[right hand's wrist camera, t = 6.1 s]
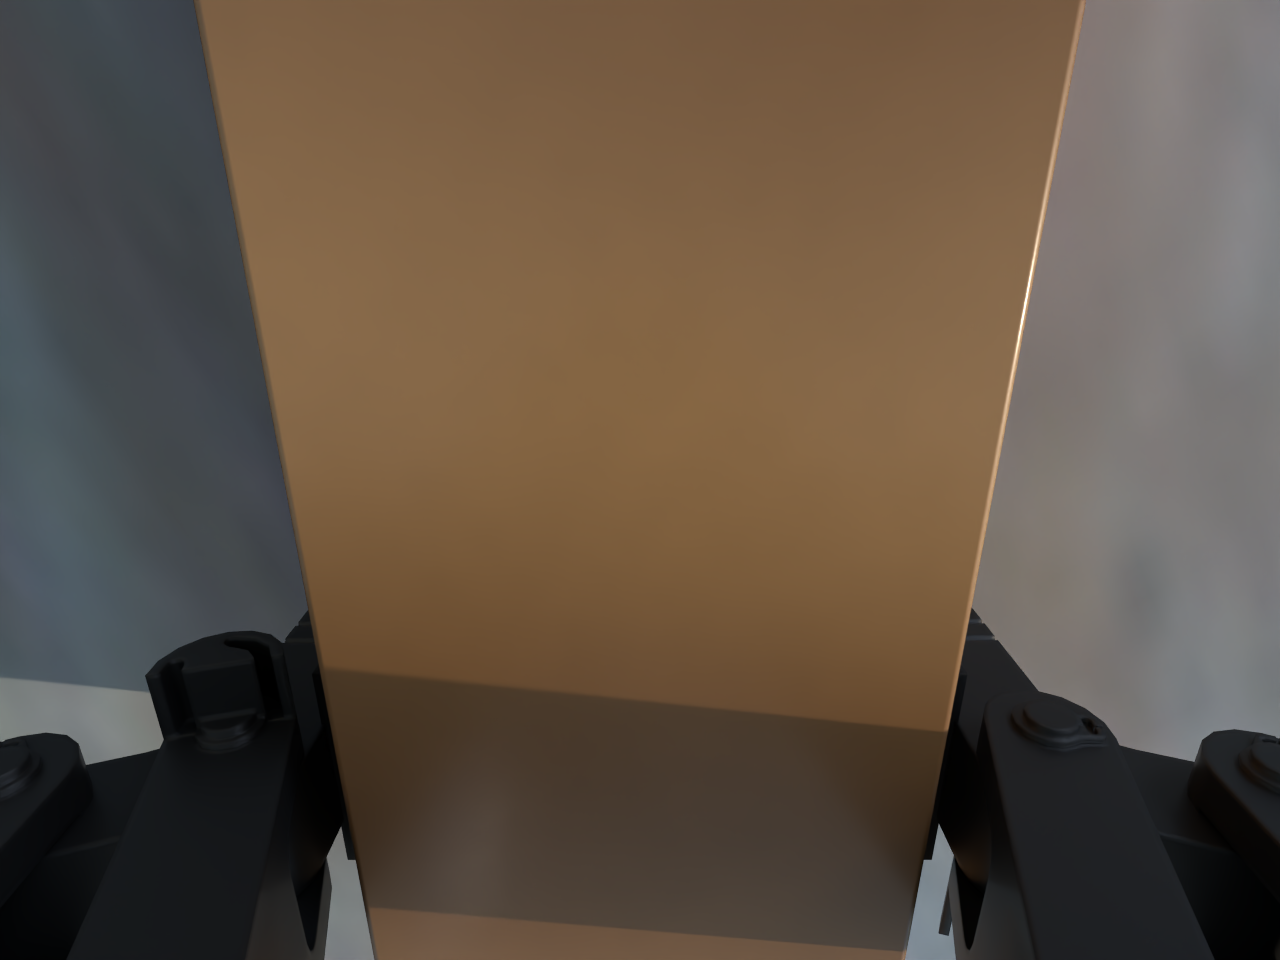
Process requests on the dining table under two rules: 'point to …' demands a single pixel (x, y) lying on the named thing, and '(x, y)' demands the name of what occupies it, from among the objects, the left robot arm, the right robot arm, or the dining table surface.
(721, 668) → the post
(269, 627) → the dining table surface
